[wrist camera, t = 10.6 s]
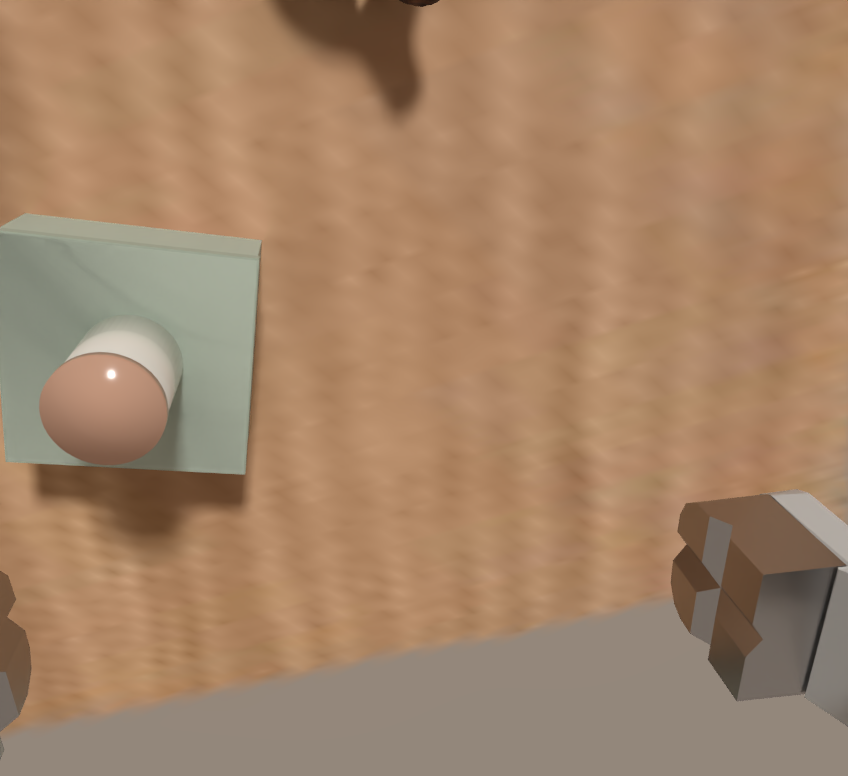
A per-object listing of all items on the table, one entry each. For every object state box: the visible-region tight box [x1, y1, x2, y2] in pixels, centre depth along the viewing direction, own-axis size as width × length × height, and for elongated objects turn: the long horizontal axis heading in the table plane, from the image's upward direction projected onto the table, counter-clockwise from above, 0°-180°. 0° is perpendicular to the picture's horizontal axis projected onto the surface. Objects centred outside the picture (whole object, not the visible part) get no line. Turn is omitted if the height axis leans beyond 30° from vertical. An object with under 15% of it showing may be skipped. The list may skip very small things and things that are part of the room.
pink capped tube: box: [39, 315, 183, 465], centre depth 35 cm, size 5×5×6 cm
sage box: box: [0, 213, 262, 475], centre depth 40 cm, size 12×12×5 cm
